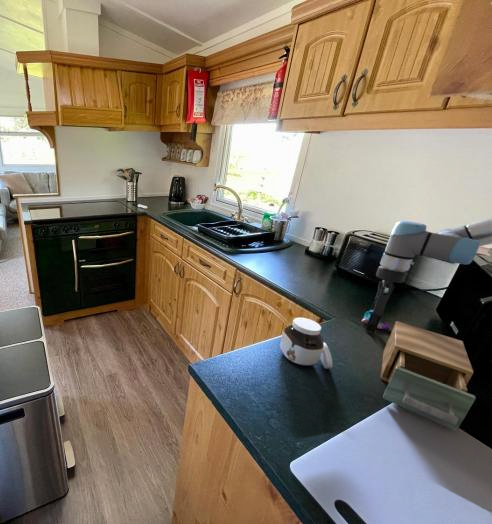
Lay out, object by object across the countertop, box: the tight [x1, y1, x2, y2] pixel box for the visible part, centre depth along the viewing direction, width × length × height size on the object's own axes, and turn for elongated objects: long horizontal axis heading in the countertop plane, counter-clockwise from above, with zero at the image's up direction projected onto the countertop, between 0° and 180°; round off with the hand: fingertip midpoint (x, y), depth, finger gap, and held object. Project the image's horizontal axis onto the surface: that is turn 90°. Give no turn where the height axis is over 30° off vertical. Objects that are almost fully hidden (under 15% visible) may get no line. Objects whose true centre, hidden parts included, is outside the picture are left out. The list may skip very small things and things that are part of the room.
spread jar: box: [279, 317, 334, 370], centre depth 80 cm, size 12×11×12 cm
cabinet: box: [380, 320, 474, 386], centre depth 77 cm, size 17×14×11 cm
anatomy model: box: [361, 309, 390, 330], centre depth 103 cm, size 5×8×7 cm
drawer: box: [382, 350, 476, 432], centre depth 67 cm, size 22×13×9 cm, turn 139°
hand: (371, 324), depth 103 cm, fingers open, 11 cm apart
